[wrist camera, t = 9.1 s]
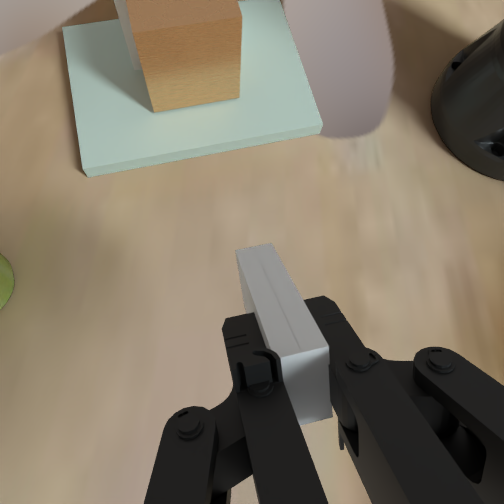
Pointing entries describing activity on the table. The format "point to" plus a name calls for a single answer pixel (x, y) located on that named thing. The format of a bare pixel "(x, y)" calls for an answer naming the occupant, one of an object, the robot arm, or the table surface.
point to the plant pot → (5, 281)
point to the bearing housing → (188, 118)
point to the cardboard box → (188, 50)
